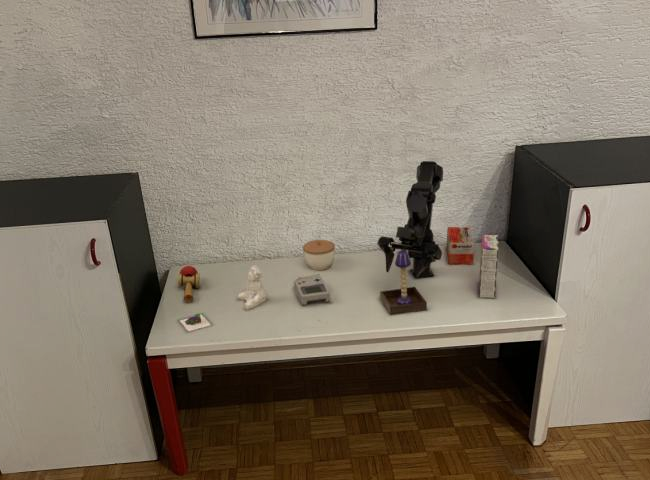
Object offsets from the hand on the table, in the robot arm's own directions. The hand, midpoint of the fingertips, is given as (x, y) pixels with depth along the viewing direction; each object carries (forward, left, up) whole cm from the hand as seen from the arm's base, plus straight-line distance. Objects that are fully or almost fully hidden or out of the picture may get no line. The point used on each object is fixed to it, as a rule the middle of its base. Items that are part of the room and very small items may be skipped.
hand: (401, 274), depth 204 cm
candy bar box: (-2, +28, -11) cm, 30 cm away
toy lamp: (-1, +1, -10) cm, 10 cm away
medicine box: (-30, +30, -11) cm, 44 cm away
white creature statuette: (-16, -43, -11) cm, 47 cm away
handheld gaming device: (-15, -25, -11) cm, 31 cm away
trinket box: (-36, -18, -11) cm, 42 cm away
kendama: (-30, -62, -11) cm, 70 cm away
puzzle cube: (-7, -62, -11) cm, 63 cm away
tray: (-1, +1, -10) cm, 11 cm away
